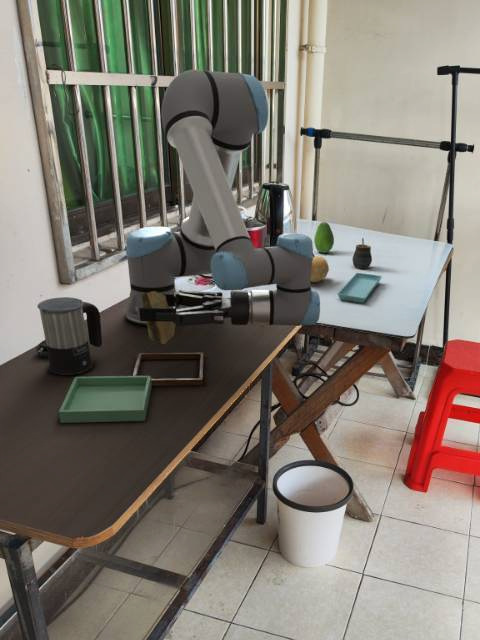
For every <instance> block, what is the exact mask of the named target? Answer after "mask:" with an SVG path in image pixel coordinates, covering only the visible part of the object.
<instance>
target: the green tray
mask: <svg viewBox="0 0 480 640" xmlns="http://www.w3.org/2000/svg"><path fill="white" fill-rule="evenodd" d="M151 379H152V376H151V375H138V376H133V375H114V376H113V375H112V376H109V375H107V376H105V375H103V376H74V378H73V381H72V382H71V385H70V386H69V389H68V391H67V393H66V395H65V398H64V399H63V402H62V404H61V406H60V408H59V410H58V417H59V422H60V423H61V424H68V423H69V424H72V423H73V424H74V423H109V422H110V423H112V422H145V421H146V417H147V413H148V407H149V402H150V398H151V392H152V387H153V386H152V382H151Z"/></svg>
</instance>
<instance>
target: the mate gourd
mask: <svg viewBox="0 0 480 640" xmlns="http://www.w3.org/2000/svg"><path fill="white" fill-rule="evenodd" d="M361 243H362V244H356V245H355V250H354V253H353V255H352V258H351V259H352V260H351V261H352V265H353V266H354V268H356V269H360V270H366V269H368V268H369V267H370V266H371V264H372V262H373V257H372V252H371V251H372V247H371V245H368V244H365V240H364V237H363V238H362V237H361Z"/></svg>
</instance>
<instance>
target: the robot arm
mask: <svg viewBox="0 0 480 640" xmlns="http://www.w3.org/2000/svg"><path fill="white" fill-rule="evenodd" d="M263 86H264V85H263V84H262V82H261V81H260V80H259V79H258V78H257V77H256V76H255V75H251V74H247V73H241V72H239V71H238V72H223V71H213V70H202V69H189V70H185V71H183V72H181V73H179V74H177V76H175V77H174V78H173V79H172V80H171V81H170V83H169V84H168V86H167V88H166V90H165V92H164V94H163V98H162V102H161V123H162V127H163V132H164V134H165V137H166V139H167V142H168V143H169V145H170V146H171V147H173V149H176V152H177V155H178V157H179V159H180V162H181V164H182V167H183V170H184V173H185V175H186V177H187V180H188V183H189V186H190V188H191V191H192V193H193V196H192V201H191V206H190V211H189V216H187V217H185V218H184V219H183V220H182V221H181V225H180V229H179V231H173V232H172V230H171V228H169V227H166V226H162V225H161V226H160V225H159V226H147V227H142V228H138V229H135V230H133V231H131V232H130V233H129V234H128V235H127V236H126V239H125V243H126V245H125V246H126V250H125V255H126V257H127V258H126V259H127V268H128V276H129V287H130V292H129V297H128V301H127V304H126V309H125V315H126V316H125V317H126V320H127V321H128V322H130V323H131V324H134V325H137V326H138V325H139V326H143V327H144V326H145V327H148V326H147V321H164V322H173V323H176V327H185V326H199V325H200V326H201V325H223V324H224V323H225V322H224V321H225V320H224V319H229V318H230V324H231V325H232V326H248V324H249V323H250V325H251V326H259V327H260V328H263V327H265V326H296V327H300V326H312V325H316V324H317V323H318V322H319V319H320V315H321V299H320V293H319V292H317V291H316V290H312V285H311V283H312V282H311V271H312V260H313V257H314V245H313V240H312V238H311V237H310V236H308V235H306V234H302V233H295V232H288V233H287V232H286V233H282V234H280V235H279V236H278V237H277V241H276V245H275V246H266V247H258V248H255V246H254V244H253V242H252V239H251V237H250V233H249V232H248V229H247V227H246V224H245V222H244V218H243V215H242V212H241V211H240V208H239V206H238V203H237V201H236V198H235V195H234V193H233V190H232V188H233V184H234V180H235V176H236V173H237V169H238V165H239V161H240V157H241V153H242V152H243V151H246V150H248V148H250V146H251V142H252V138H253V135H259V134H261V133H262V132H263V133H264V131H265V130H266V128H267V126H268V121H269V102H268V98H267V94H266V91H265V88H264V87H263ZM210 274H211V278H212V280H213V283H214V284H215V286H216V287H217V288H218V289H220V290H221V291H222V292H221V291H217V292H215V291H213V292H211V291H198V290H187V289H178V290H176V283H175V281H176V280H175V279H176V278H182V277H192V276H201V275H210ZM270 285H271V286H272V285H275V286H276V289H275V290H269V289H251V290H250V291H248V290H246V289H249V288H257V287H263V286H270ZM152 291H155V292H158V293H160V294H162V295H165V296H166V301H167V304H168V306H169V307H170V308H143V304H142V298H141V295H142V294H145V293H149V292H152ZM177 291H178V292H177ZM223 291H230V296H229V297H224V295H223ZM183 307H184V308H183Z"/></svg>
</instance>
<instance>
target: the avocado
mask: <svg viewBox="0 0 480 640" xmlns="http://www.w3.org/2000/svg"><path fill="white" fill-rule="evenodd" d="M334 245H335V237H334V233H333V230H332V228H331V225H330V224H329V223H328V222H326V221H325V222H324V221H322V222H320V223H319V224H318V226H317V228H316V231H315V234H314V246H315V249H316V251H318V252H319V253H320V254H326V253H329V252H330V251H331V250H332V249H333V246H334Z"/></svg>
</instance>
